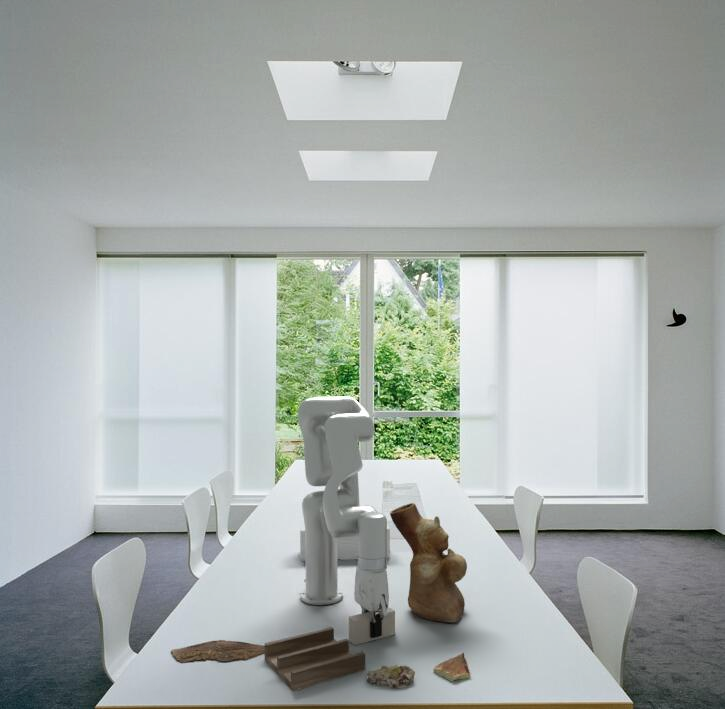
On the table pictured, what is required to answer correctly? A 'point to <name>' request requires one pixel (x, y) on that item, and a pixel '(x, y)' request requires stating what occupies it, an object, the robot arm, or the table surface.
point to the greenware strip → (361, 627)
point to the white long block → (341, 545)
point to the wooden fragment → (218, 651)
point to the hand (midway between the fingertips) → (372, 633)
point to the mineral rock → (391, 676)
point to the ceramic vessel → (431, 567)
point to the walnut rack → (312, 658)
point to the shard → (453, 668)
